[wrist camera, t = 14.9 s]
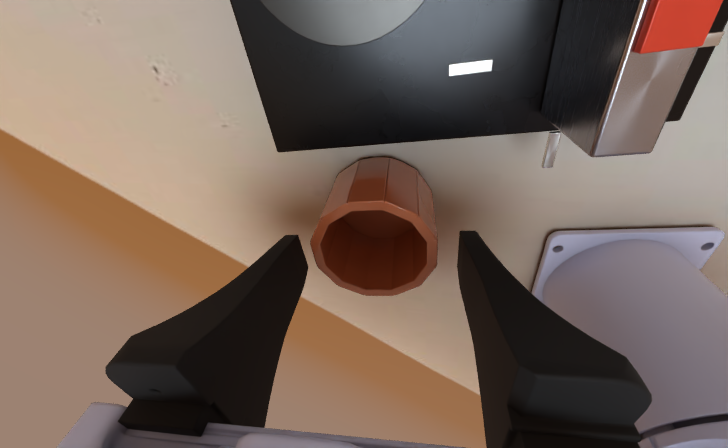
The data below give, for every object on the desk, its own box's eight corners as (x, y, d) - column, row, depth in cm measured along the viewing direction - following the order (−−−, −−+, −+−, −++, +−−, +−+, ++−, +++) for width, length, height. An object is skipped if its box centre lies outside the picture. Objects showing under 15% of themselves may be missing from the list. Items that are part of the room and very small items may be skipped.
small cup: (431, 237, 18) (436, 296, 14) (341, 239, 19) (325, 295, 15) (431, 149, 15) (438, 198, 11) (323, 157, 16) (297, 204, 12)
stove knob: (582, 110, 10) (659, 158, 7) (539, 114, 11) (594, 162, 8) (618, -21, 8) (748, -34, 5) (564, -12, 9) (656, -20, 5)
